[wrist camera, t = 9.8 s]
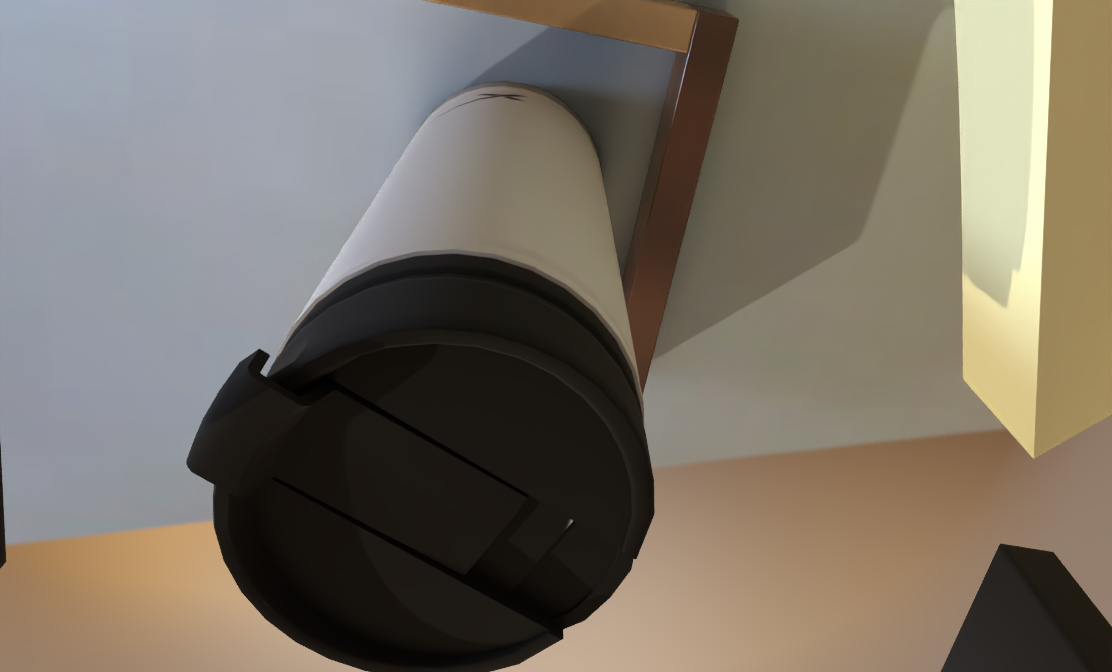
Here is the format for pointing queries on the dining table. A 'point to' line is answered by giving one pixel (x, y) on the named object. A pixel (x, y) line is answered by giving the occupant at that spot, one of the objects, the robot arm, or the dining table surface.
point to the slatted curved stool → (1037, 212)
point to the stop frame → (692, 96)
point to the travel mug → (446, 410)
